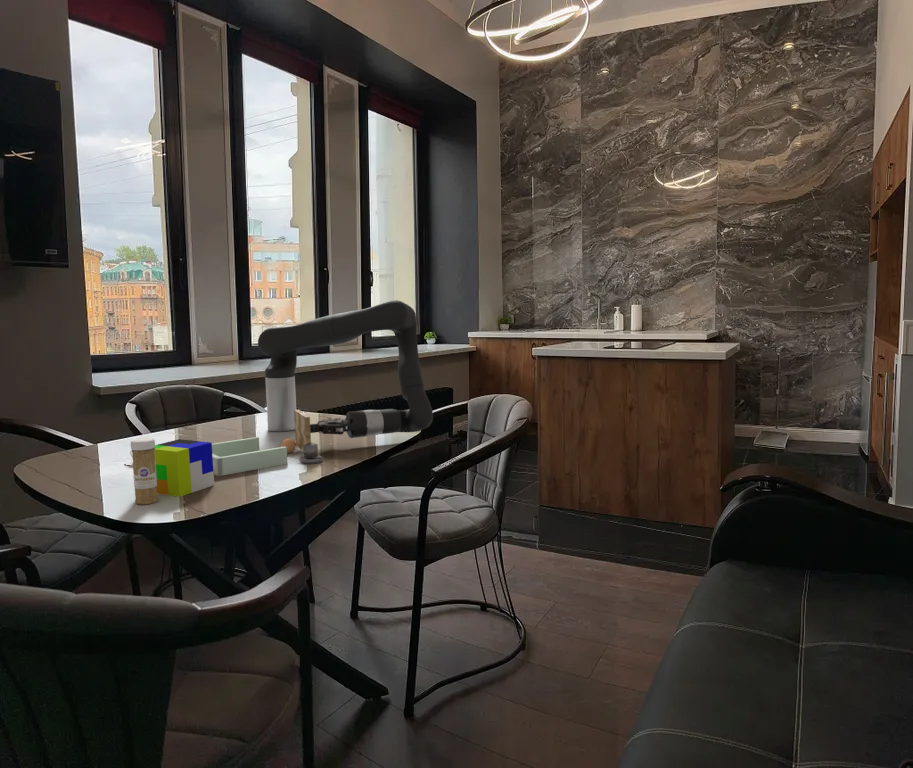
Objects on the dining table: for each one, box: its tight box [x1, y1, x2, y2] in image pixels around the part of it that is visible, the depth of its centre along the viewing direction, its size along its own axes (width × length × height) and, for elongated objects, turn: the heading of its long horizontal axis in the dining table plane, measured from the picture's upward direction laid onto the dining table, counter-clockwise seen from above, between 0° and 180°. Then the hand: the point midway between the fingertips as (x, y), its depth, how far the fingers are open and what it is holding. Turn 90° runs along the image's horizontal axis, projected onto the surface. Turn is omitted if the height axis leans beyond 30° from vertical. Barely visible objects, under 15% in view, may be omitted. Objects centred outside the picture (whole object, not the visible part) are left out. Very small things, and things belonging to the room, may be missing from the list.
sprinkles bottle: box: [130, 437, 159, 506], centre depth 140 cm, size 5×5×13 cm
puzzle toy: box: [154, 438, 215, 498], centre depth 151 cm, size 10×10×10 cm
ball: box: [280, 438, 297, 454], centre depth 185 cm, size 4×4×4 cm
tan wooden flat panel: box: [294, 408, 319, 458], centre depth 180 cm, size 18×4×10 cm, turn 25°
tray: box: [212, 436, 288, 477], centre depth 173 cm, size 18×18×4 cm
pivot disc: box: [299, 455, 323, 465], centre depth 174 cm, size 6×6×1 cm
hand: (304, 429), depth 184 cm, fingers closed
